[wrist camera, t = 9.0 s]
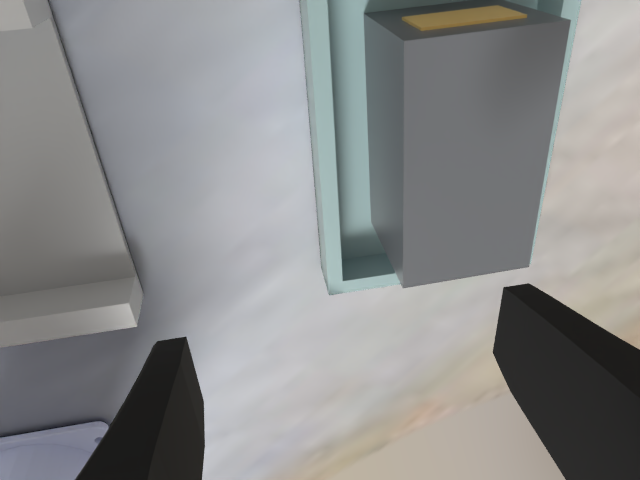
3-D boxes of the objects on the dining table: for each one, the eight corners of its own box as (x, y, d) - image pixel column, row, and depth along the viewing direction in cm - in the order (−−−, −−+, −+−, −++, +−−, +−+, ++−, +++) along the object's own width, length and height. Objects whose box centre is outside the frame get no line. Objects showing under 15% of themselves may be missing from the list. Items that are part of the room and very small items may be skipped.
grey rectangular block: (475, 205, 21) (528, 267, 18) (370, 222, 21) (402, 288, 17) (494, -6, 17) (571, 16, 13) (363, 10, 17) (403, 37, 13)
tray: (509, 240, 23) (530, 264, 22) (321, 268, 22) (328, 295, 21) (559, -74, 17) (595, -72, 15) (295, -51, 16) (303, -47, 14)
